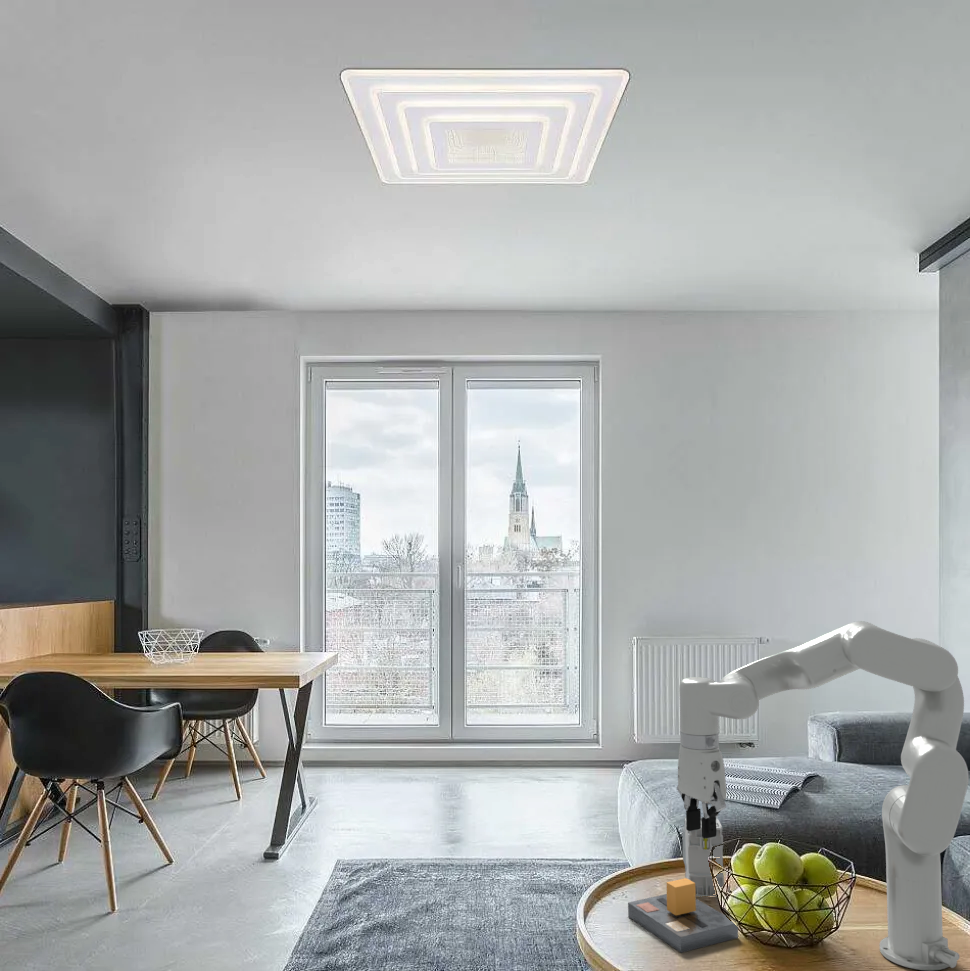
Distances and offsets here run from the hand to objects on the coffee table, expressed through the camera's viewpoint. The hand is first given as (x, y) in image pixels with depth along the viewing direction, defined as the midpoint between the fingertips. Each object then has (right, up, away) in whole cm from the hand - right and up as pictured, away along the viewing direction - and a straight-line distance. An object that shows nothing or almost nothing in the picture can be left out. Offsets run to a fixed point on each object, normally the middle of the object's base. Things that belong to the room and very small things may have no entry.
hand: (701, 832), depth 185 cm
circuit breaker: (+7, -22, +28) cm, 36 cm away
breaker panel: (-3, -22, +6) cm, 22 cm away
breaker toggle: (-3, -18, +6) cm, 19 cm away
